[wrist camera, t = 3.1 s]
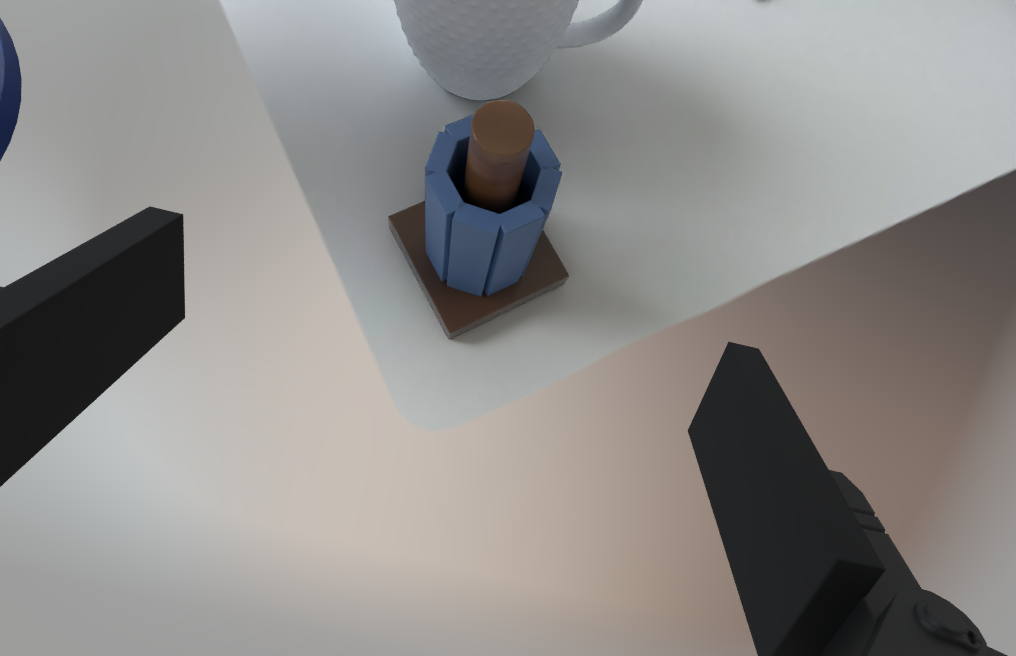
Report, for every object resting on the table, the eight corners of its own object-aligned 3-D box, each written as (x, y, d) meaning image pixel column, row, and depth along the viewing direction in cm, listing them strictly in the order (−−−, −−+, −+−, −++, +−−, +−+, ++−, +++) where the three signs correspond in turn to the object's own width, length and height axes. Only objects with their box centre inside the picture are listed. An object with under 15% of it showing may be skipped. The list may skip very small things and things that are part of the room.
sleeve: (410, 223, 38) (405, 140, 29) (499, 185, 39) (520, 94, 30) (457, 311, 37) (466, 251, 28) (547, 268, 38) (582, 199, 29)
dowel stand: (388, 226, 39) (369, 82, 26) (503, 177, 41) (540, 18, 28) (448, 340, 38) (460, 249, 24) (564, 283, 39) (635, 171, 26)
